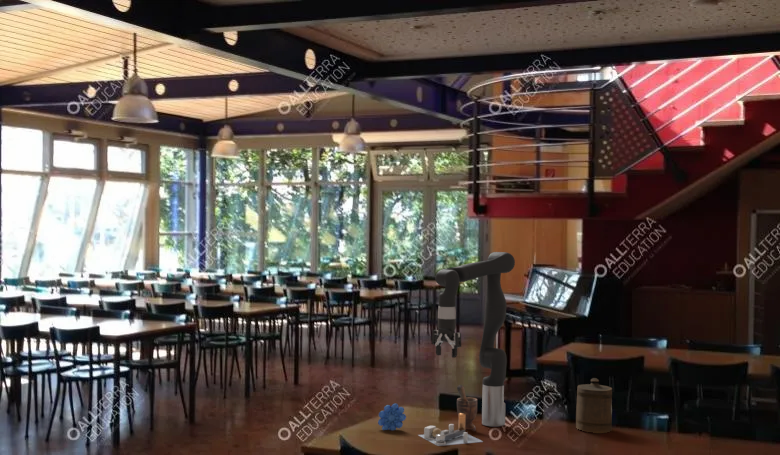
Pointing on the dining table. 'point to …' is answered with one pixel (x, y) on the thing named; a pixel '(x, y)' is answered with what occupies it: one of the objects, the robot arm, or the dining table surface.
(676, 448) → the dining table surface
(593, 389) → the wooden container
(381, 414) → the blue lumpy cluster
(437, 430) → the hazelnut
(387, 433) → the dining table surface
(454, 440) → the nutcracker base
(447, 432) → the lever
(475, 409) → the mortar and pestle
